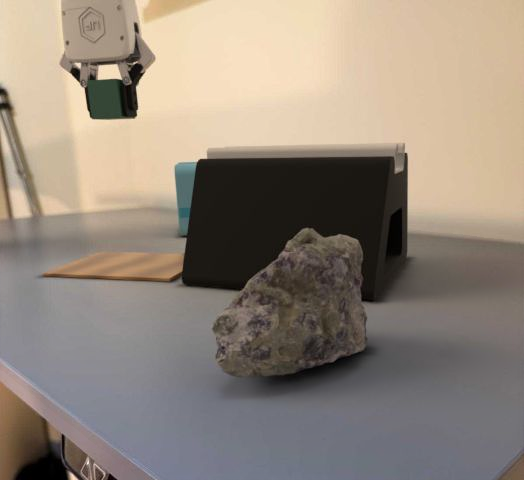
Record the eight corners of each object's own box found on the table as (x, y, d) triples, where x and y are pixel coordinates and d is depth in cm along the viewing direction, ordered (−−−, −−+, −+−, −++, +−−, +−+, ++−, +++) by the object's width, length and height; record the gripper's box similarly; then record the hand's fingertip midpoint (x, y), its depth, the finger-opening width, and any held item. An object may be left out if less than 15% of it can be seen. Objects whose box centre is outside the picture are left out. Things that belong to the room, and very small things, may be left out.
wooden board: (43, 276, 70) (42, 273, 70) (100, 254, 83) (100, 251, 83) (169, 281, 66) (169, 278, 66) (210, 257, 78) (210, 254, 78)
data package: (205, 236, 94) (200, 164, 90) (179, 237, 94) (173, 165, 90) (207, 226, 105) (203, 161, 101) (184, 227, 105) (178, 162, 101)
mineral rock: (218, 399, 36) (208, 249, 32) (203, 343, 46) (194, 223, 42) (400, 379, 38) (410, 235, 34) (348, 329, 48) (352, 214, 44)
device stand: (256, 249, 83) (253, 144, 77) (406, 257, 74) (415, 140, 69) (182, 286, 63) (170, 150, 58) (373, 302, 55) (381, 146, 50)
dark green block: (91, 119, 77) (86, 80, 75) (107, 119, 81) (103, 83, 79) (120, 118, 76) (116, 78, 74) (135, 118, 80) (131, 81, 78)
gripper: (22, -32, 70) (47, 119, 77) (140, -47, 66) (156, 114, 73) (56, -18, 77) (76, 120, 84) (165, -31, 73) (177, 115, 80)
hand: (113, 116), depth 78 cm, fingers closed on dark green block, 4 cm apart
